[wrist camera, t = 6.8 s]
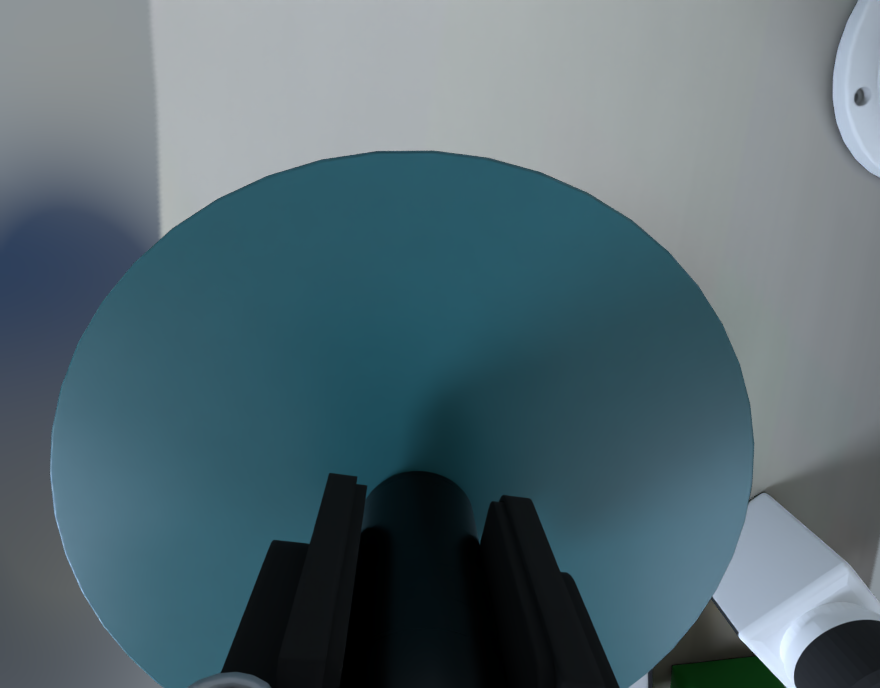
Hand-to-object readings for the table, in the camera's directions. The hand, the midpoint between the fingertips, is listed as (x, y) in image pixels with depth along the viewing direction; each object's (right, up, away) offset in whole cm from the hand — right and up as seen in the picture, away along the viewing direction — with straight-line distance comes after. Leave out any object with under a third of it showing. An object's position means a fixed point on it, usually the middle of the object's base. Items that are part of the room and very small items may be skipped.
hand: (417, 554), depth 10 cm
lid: (0, 0, +1) cm, 2 cm away
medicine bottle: (+22, -10, +26) cm, 35 cm away
